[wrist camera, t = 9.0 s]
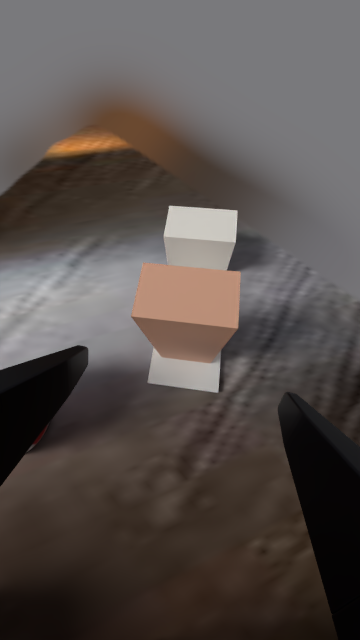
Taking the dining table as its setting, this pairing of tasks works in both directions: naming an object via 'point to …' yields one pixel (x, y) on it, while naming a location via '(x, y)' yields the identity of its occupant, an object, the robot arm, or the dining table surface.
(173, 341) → the stub
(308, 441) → the robot arm
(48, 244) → the dining table surface
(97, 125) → the dining table surface
